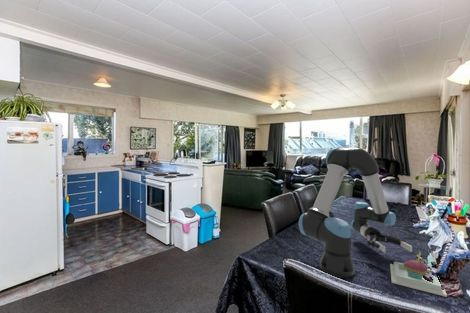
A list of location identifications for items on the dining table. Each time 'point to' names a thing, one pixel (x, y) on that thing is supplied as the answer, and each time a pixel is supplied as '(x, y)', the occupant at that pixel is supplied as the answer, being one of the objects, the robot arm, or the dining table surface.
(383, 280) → the dining table surface
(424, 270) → the cupcake
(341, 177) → the robot arm
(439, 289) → the pastry tray
